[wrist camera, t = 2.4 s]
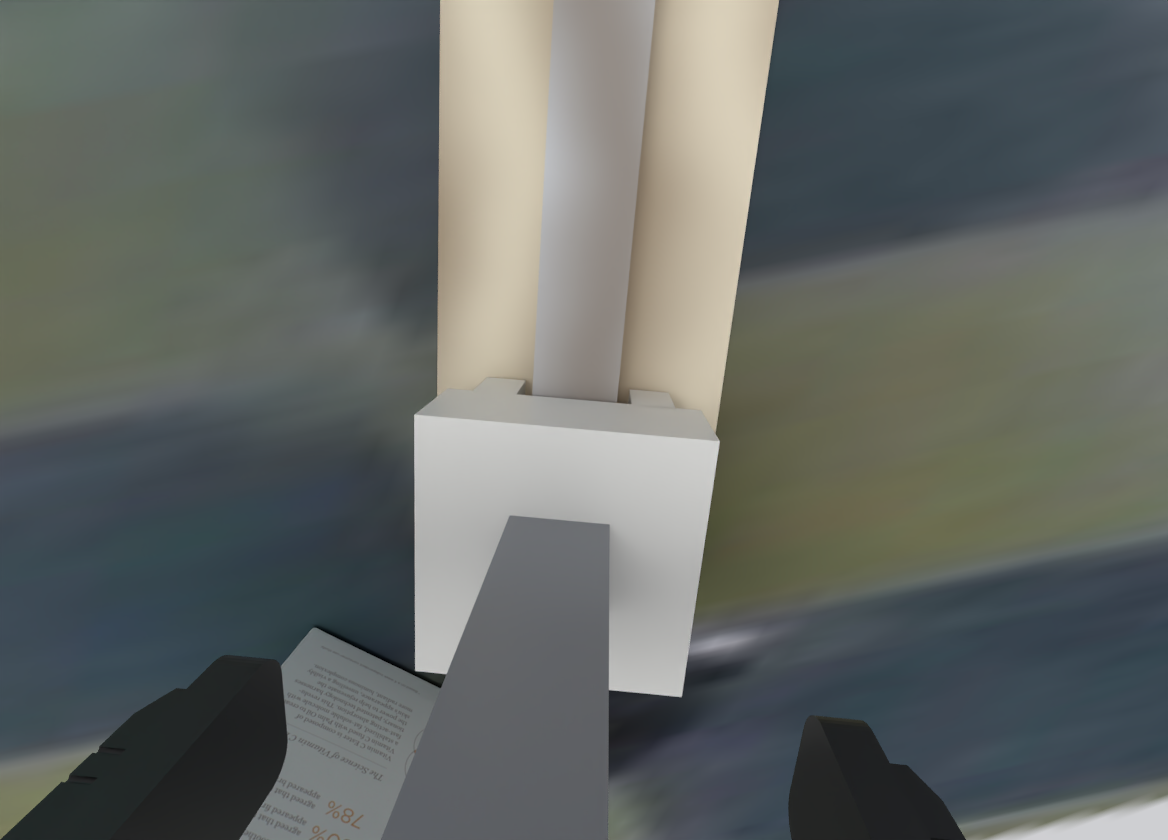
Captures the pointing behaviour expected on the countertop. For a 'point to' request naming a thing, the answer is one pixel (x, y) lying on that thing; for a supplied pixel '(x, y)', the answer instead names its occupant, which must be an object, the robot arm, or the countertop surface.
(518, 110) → the rail
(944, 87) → the countertop surface
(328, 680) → the small box
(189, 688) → the robot arm
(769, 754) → the countertop surface
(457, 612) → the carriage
